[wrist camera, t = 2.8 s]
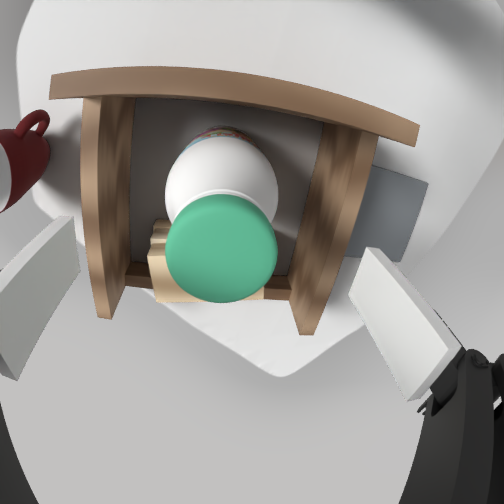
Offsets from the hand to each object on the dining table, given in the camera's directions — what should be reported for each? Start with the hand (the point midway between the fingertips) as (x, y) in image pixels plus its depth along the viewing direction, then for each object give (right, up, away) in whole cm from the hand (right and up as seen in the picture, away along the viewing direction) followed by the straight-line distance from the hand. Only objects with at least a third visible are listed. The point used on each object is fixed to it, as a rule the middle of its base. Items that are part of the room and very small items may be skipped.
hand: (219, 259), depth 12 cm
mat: (+18, +5, +21) cm, 28 cm away
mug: (-23, +13, +13) cm, 29 cm away
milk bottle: (-2, +10, +17) cm, 20 cm away
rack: (-2, +6, +19) cm, 20 cm away
